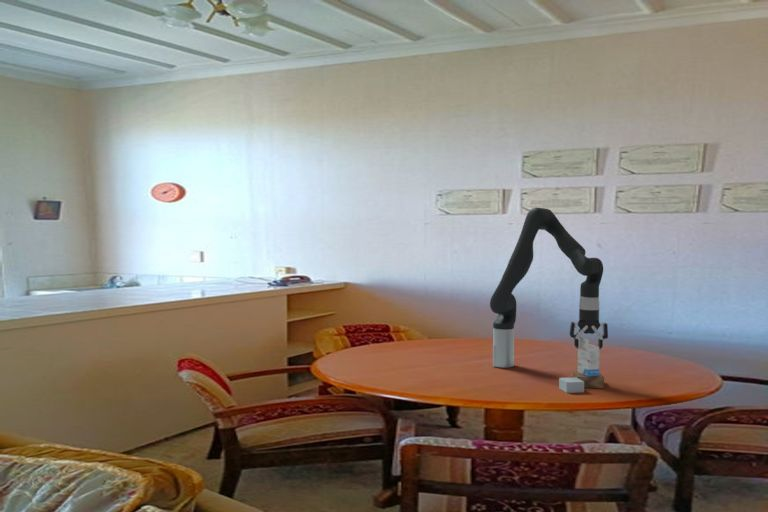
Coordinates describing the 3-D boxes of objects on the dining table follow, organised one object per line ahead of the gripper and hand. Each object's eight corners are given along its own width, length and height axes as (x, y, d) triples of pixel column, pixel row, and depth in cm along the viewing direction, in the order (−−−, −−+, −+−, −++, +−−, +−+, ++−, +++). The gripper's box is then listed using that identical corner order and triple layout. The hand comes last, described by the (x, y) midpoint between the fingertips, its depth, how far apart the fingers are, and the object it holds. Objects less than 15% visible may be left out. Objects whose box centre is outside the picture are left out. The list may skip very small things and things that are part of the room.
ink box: (599, 376, 239) (600, 339, 239) (588, 377, 238) (588, 339, 238) (588, 371, 248) (588, 335, 247) (577, 372, 247) (577, 336, 246)
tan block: (577, 387, 239) (577, 376, 239) (573, 380, 249) (573, 371, 249) (603, 387, 237) (604, 377, 237) (598, 381, 247) (598, 371, 247)
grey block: (566, 392, 230) (566, 382, 230) (559, 388, 237) (559, 377, 237) (584, 392, 231) (584, 381, 231) (576, 387, 238) (576, 377, 238)
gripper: (572, 308, 239) (571, 349, 240) (610, 309, 237) (609, 351, 238) (569, 306, 246) (568, 346, 247) (605, 307, 244) (605, 347, 245)
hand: (588, 348), depth 242 cm, fingers open, 8 cm apart
